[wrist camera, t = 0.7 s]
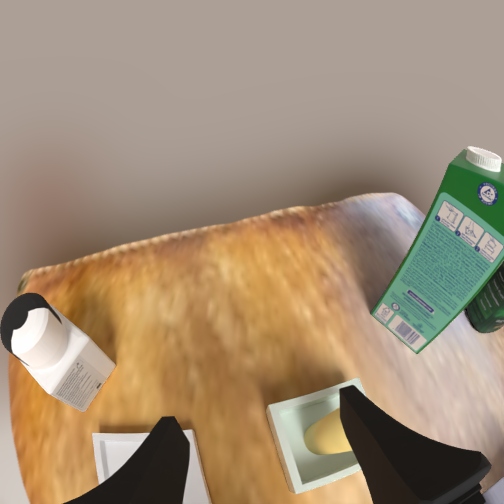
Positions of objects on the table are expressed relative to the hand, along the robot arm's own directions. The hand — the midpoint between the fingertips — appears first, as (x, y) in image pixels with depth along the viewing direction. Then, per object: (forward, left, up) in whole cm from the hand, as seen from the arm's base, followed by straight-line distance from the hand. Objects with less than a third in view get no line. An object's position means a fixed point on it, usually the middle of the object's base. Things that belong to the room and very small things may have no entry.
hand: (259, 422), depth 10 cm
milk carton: (+9, -25, -18) cm, 32 cm away
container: (+10, +19, -18) cm, 28 cm away
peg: (-2, -7, -17) cm, 18 cm away
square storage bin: (-2, -7, -17) cm, 19 cm away
